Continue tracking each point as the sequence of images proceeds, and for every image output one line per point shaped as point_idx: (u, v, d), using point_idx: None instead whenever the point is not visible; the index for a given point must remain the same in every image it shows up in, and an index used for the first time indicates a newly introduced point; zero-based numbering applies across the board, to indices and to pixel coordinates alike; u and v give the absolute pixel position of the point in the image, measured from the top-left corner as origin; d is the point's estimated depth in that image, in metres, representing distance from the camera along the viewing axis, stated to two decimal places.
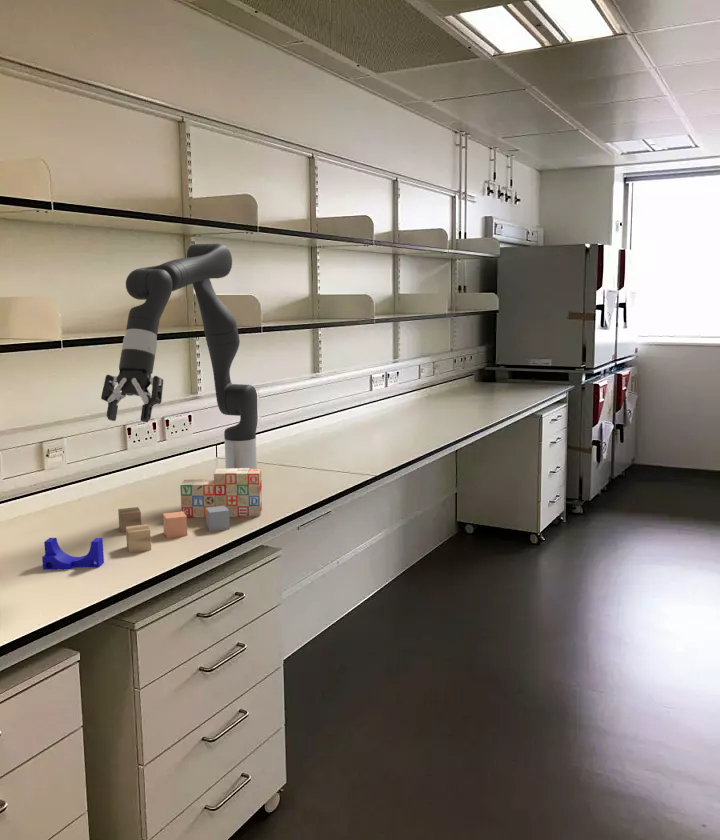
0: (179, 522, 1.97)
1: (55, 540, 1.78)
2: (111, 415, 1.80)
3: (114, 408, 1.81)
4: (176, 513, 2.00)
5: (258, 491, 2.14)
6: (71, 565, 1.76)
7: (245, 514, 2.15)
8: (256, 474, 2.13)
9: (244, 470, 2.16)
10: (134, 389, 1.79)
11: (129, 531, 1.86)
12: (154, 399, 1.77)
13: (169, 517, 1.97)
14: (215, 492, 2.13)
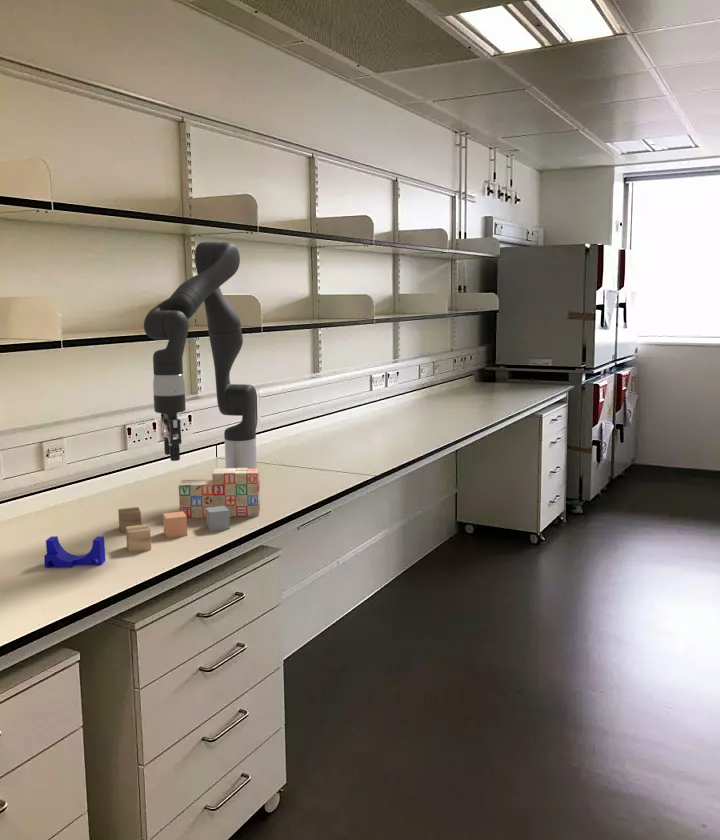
0: (179, 522, 1.97)
1: (56, 539, 1.79)
2: (166, 451, 2.00)
3: (168, 443, 2.00)
4: (176, 513, 2.00)
5: (257, 491, 2.14)
6: (73, 563, 1.77)
7: (244, 514, 2.15)
8: (255, 474, 2.13)
9: (242, 470, 2.16)
10: None
11: (129, 531, 1.86)
12: (170, 442, 1.89)
13: (169, 517, 1.97)
14: (214, 491, 2.13)
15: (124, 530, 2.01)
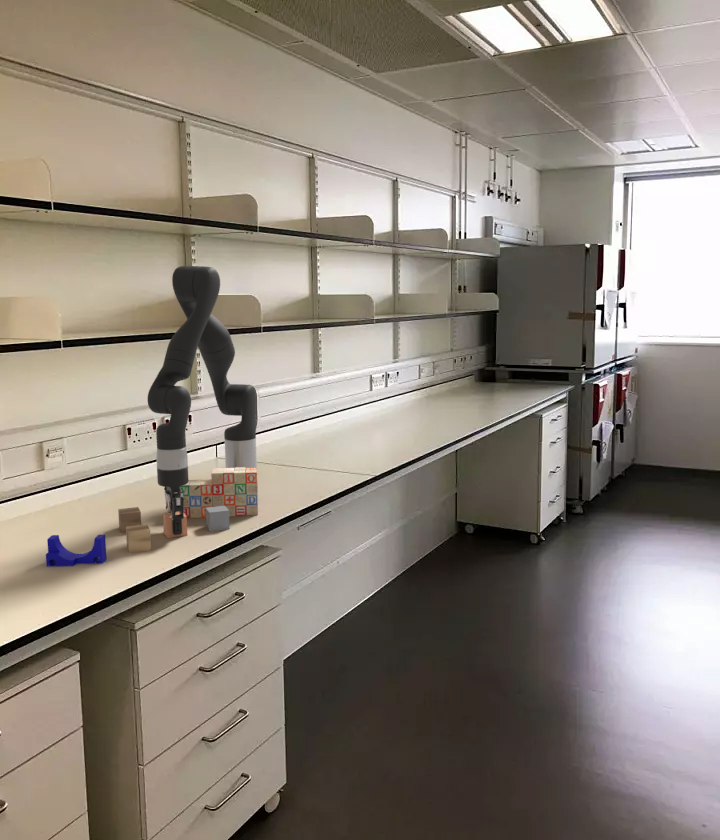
0: None
1: (58, 537, 1.80)
2: None
3: None
4: (176, 513, 2.00)
5: (256, 490, 2.15)
6: (74, 562, 1.78)
7: (243, 513, 2.16)
8: (254, 473, 2.14)
9: (241, 469, 2.17)
10: None
11: (129, 531, 1.86)
12: (173, 518, 1.94)
13: (169, 517, 1.97)
14: (213, 491, 2.14)
15: (124, 530, 2.01)
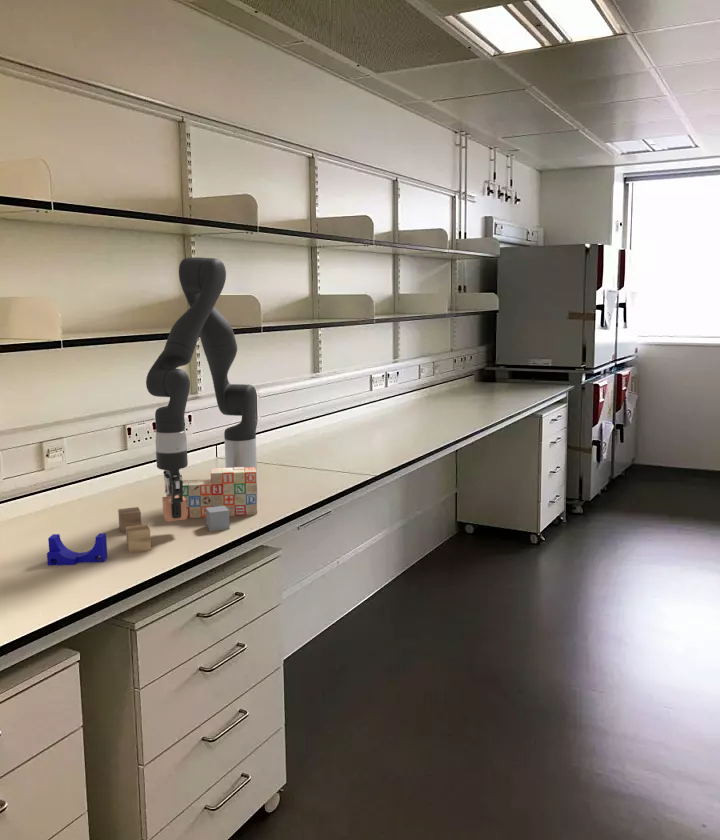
0: None
1: (58, 536, 1.80)
2: None
3: None
4: (175, 497, 2.00)
5: (255, 489, 2.15)
6: (76, 560, 1.79)
7: (242, 513, 2.16)
8: (253, 473, 2.15)
9: (240, 469, 2.17)
10: None
11: (129, 531, 1.86)
12: (172, 501, 1.93)
13: (168, 500, 1.97)
14: (212, 491, 2.14)
15: (124, 530, 2.01)
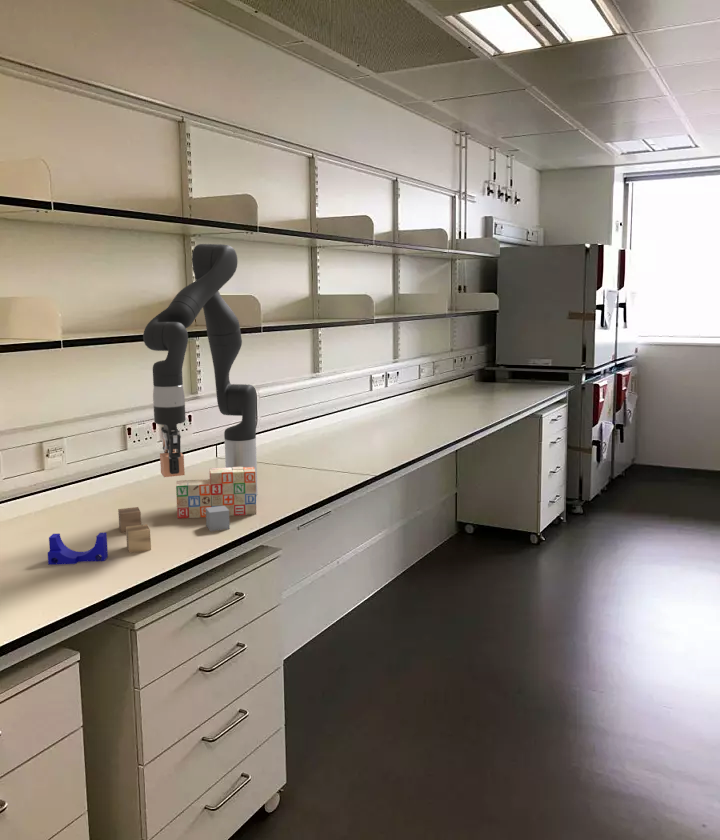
0: None
1: (59, 536, 1.81)
2: None
3: None
4: None
5: (254, 489, 2.16)
6: (76, 560, 1.79)
7: (241, 512, 2.16)
8: (252, 472, 2.15)
9: (239, 469, 2.17)
10: None
11: (129, 531, 1.86)
12: (170, 456, 1.91)
13: (166, 456, 1.95)
14: (211, 491, 2.14)
15: (124, 530, 2.01)
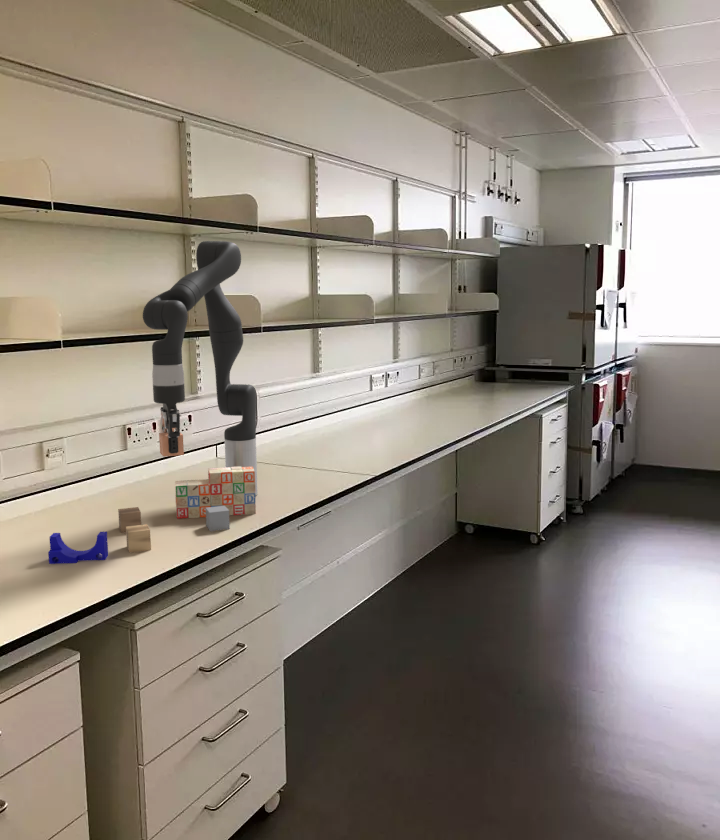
0: None
1: (59, 535, 1.82)
2: None
3: None
4: None
5: (254, 489, 2.16)
6: (77, 559, 1.80)
7: (241, 512, 2.17)
8: (252, 472, 2.16)
9: (238, 468, 2.18)
10: None
11: (129, 531, 1.86)
12: (169, 435, 1.91)
13: (165, 435, 1.94)
14: (211, 491, 2.14)
15: (124, 530, 2.01)
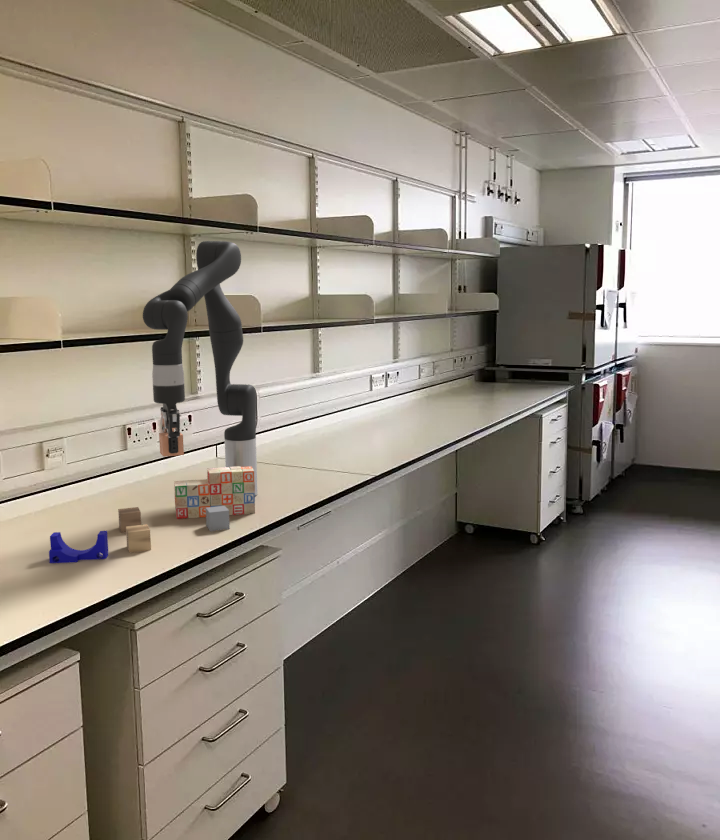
0: None
1: (59, 534, 1.82)
2: None
3: None
4: None
5: (253, 488, 2.17)
6: (78, 558, 1.80)
7: (240, 512, 2.17)
8: (251, 472, 2.16)
9: (237, 468, 2.18)
10: None
11: (129, 531, 1.86)
12: (169, 435, 1.91)
13: (165, 435, 1.94)
14: (210, 491, 2.14)
15: (124, 530, 2.01)
